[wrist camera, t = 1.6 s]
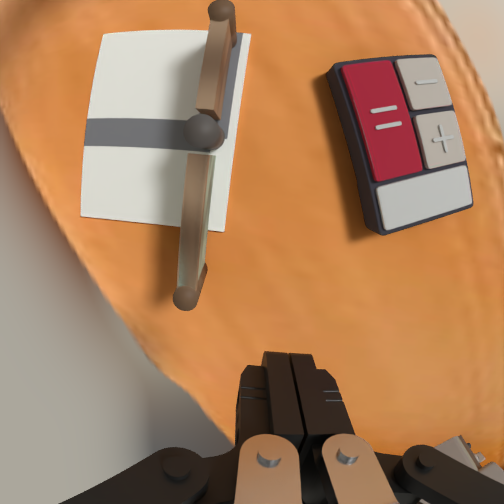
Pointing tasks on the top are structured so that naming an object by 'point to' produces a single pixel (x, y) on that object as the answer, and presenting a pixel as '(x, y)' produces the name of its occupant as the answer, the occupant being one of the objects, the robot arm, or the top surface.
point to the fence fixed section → (213, 78)
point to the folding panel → (194, 230)
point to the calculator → (401, 140)
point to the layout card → (153, 126)
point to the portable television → (469, 458)
